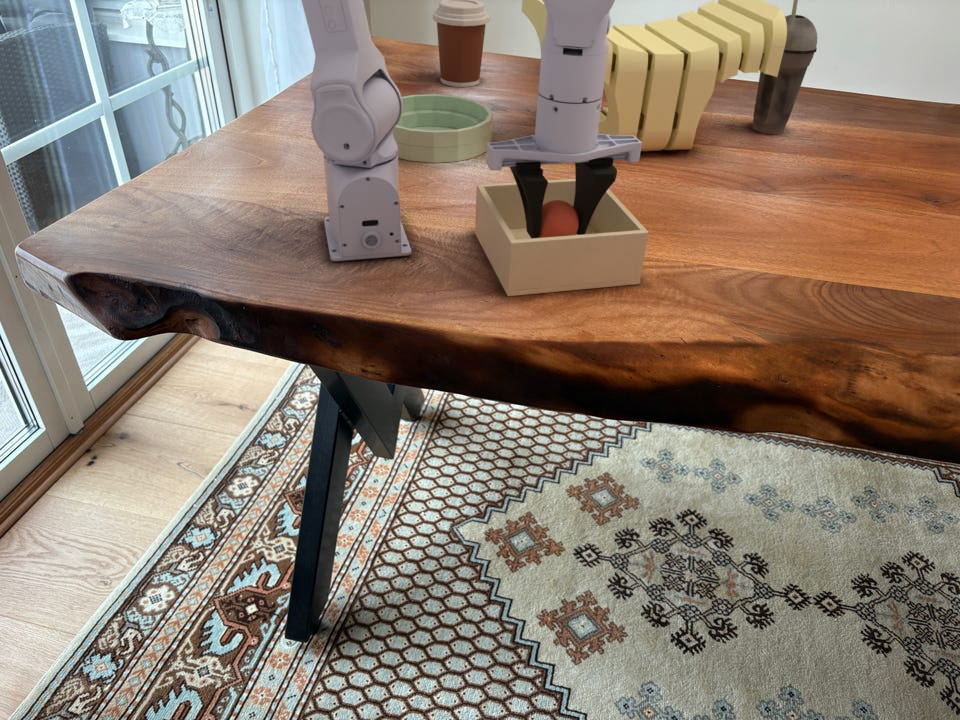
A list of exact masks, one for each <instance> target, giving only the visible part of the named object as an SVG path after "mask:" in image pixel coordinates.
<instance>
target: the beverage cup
mask: <svg viewBox="0 0 960 720" xmlns="http://www.w3.org/2000/svg"><path fill="white" fill-rule="evenodd" d="M798 3H799V0H793V2H792V9H791V14H788V15H785V18H786V23H787V38H786V44H785V48H784V52H783V56H782V60H781V64H780V68H779V72H778V76H777V77H775V76H772V75H768V74H764V73H763V72H761V71H759V79H758V84H757V91H756V98H755V104H754V110H753V116H752V117H753V120H752V126H751V128H752V129H753V130H754V131H755V132H759V133H761V134H766V135H781V134H783V133H784V132H785V128H786V126H787V123H788V122H789V120H790V117H791V115H792V111H793V109H794V106H795V103H796V100H797V98H798V95H799V93H800V89H801V86H802V85H803V84H802V83H803V81H804V79H805V76H806V73H807V70H808V67H810V65H811V63H812V60H813V58H814V55H815V53H817V49H818V47H817V45H818V32H817V29H816V27H815V25H814V23H813V22H812V21H811V20H810V19H809V18H808V17H806V16H805V15H801V14H797V9H798Z"/></svg>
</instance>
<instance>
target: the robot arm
mask: <svg viewBox="0 0 960 720" xmlns="http://www.w3.org/2000/svg"><path fill="white" fill-rule="evenodd" d="M615 1H616V0H542V2H544V5H545V7H546V9H547V20H546V32H545V36H544V37H543V39H542V50H541V49H540V64H539V76H538V77H539V78H538V88H537V89H538V90H537V91H538V92H537V103H536V115H535V126H534V127H535V128H534V129H535V130H534V134H532V135H527V136H522V137H517V138H512V139H506V140H502V141H492V142H491V143H487V146H486V152H485V163H486V165H487V167H488V169H489V170H490V171H501V170H502V169H503V168H509V169H510V171H511V173H512V176H513V178H514V182H516V184H517V186H518V189H519V192H520V196H521V199H522V203H523V207H524V212H525V218H526V229H527V233H528V234H529V236H530V237H531V239H533V238H539V237H540V232H541V214H542V206H543V200H544V196H545V192H546V188H547V185H548V181H547V180H548V179H547V178H546V177H545V176H544V169H542V167H541V166H544V165H561V164H564V165H565V164H574V165H575V169H574V170H575V172H574V173H575V179H576V181H575V198H574V205H573V207H574V209H575V210H576V212H577V214H578V217H579V228H578V231H577V235H584V234H585V233H586V230H587V227H588V225H589V222H590V220H591V217H592V215H593V213H594V211H595V209H596V207H597V205H598V203H599V202H600V200H601V198H602V197H603V195H604V194H605V193H606V191H607V190H608V189H609V190H610V188H611V187H612V185H613V184H614V183H615V181H616V180H617V175H618V169H617V168H616V167H615V166H614V161H626V162H628V163H639V162H640V158H641V153H642V151H641V146H642V142H641V141H640V140H639V139H637V138H636V137H635V136H634V135H629V136H621V135H605V134H598V127H599V119H600V111H602V102H603V94H604V80H605V72H606V64H607V56H608V49H609V41H608V39H607V34H608V33H609V31H610V27H611V22H612V20H611V16H610V12H611V9H612V8H613V5H614V3H615ZM301 5H302V7H303V12H304V16H305V19H306V24H307V27H308V31H309V35H310V39H311V43H312V48H313V51H314V56H315V57H314V63H313V69H312V73H311V78H310V85H309V89H310V92H311V96H312V101H313V110H312V111H313V112H312V117H311V120H310V121H311V122H310V127H311V133H312V137H313V139H314V142H315V144H316V145H317V147H318V149H319V150H320V151H321V152H322V153H323V163H324V176H325V187H326V189H325V190H326V199H327V212H328V213H327V214H328V216H325V217H324V218H323V224H324V230H325V235H326V242H327V246H328V252H329V258H330V260H331V261H332V262H343V261H355V260H369V259H380V258H381V259H382V258H393V257H407V256H410V255H412V248H411V246H410V242H409V239H408V237H407V233H406V231H405V228H404V225H403V223H402V219H401V218H402V216H401V198H400V197H401V196H400V177H399V175H400V173H399V172H400V171H399V158H398V146H397V144H396V142H395V139H394V137H393V130H392V129H393V128H394V127H395V126H396V125H397V124H398V122H399V120H400V119H401V116H402V111H403V101H402V97H403V96H402V93H401V91H400V89H399V87H398V86H397V84H396V83H395V82H394V80H393V79H392V77H391V76H390V74H389V72H388V68H387V66H386V60H385V57H384V55H383V54H382V52H381V51H380V49H379V48H378V47H377V45H375V43H374V42H373V40H372V36H371V31H370V27H369V21H368V18H367V17H368V16H367V13H366V9H365V2H364V0H301Z"/></svg>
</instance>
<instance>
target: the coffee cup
mask: <svg viewBox="0 0 960 720" xmlns="http://www.w3.org/2000/svg"><path fill="white" fill-rule="evenodd" d="M432 20H433V21H434V22H436V29H437V30H436V31H437V46H438V57H439V72H440V83H442V84H443V85H446V86H450V87H455V88H456V87H459V88H464V87H465V88H467V87H473V86H477V85H479V83H480V82H481V81H480V80H481V79H480V77H481V71H482V70H481V69H482V60H483V50H484V43H485V35H486V27H487V26H486V25H487V24H489V23H490V21H491V14H489V13H488V12H487V10H486V9H485V3H484V2H482V1H480V0H441V1H439V3H438V8H437V9H436V10H434V12H433V13H432Z"/></svg>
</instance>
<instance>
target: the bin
mask: <svg viewBox="0 0 960 720" xmlns="http://www.w3.org/2000/svg"><path fill="white" fill-rule="evenodd" d="M546 180H547V181H548V185H547V188H546V192H545V196H544V200H543V205H544V204H545V203H547V202H549V201H553V200H561V201H565V202H567V203H569V204H570V205H572V206H573V205H574V198H575V181H576V178H564V179H546ZM475 196H476V197H475V219H474V220H475V221H474V222H475V225H474V234H475V236H476V238H477V240H478V242H479V244H480V246H481V248H482V250H483V252H484V254H485V255H486V257H487V260H488V261H489V263H490V265H491V267H492V269H493V271H494V272H495V275H496V277H497V279H498V280H499V283H500V285H501V286H502V288H503V290H504V292H505V295H506V296H507V297H516V296H526V295H535V294H537V295H538V294H547V293H559V292H569V291H579V290H590V289H601V288H602V289H603V288H611V287H623V286H632V285H640V283H641V279H642V272H643V267H644V261H645V257H646V251H647V245H648V240H649V231H648V230H647V229H646V227H644V225H643V224H642V223H641V222H640V221H639V220H638V219H637V218H636V216H634V214H633V213H632V212H631V211H630V210H629V208H627V207H626V206H625V205H624V204H623V203H622V202H621V201H620V199H619V198H618V197H617V196H616V195H615V194H614V193H613V192H612V191H611V190H610V188H609V189H608V190H607V191H606V193H605V194H604V195H603V197H602V198H601V200H600V202H599V203H598V205H597V207H596V209H595V211H594V213H593V215H592V217H591V220H590V222H589V225H588V227H587V230H586V233H585V234H584V235H577V233H576V235H572V236H559V237H546V238H533V239H531V237H530V236H529V234H528V233H527V229H526V218H525V212H524V207H523V203H522V199H521V196H520V192H519V189H518V186H517V184H516V181H514V182H498V183H484V184H483V183H482V184H476V195H475Z"/></svg>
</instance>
